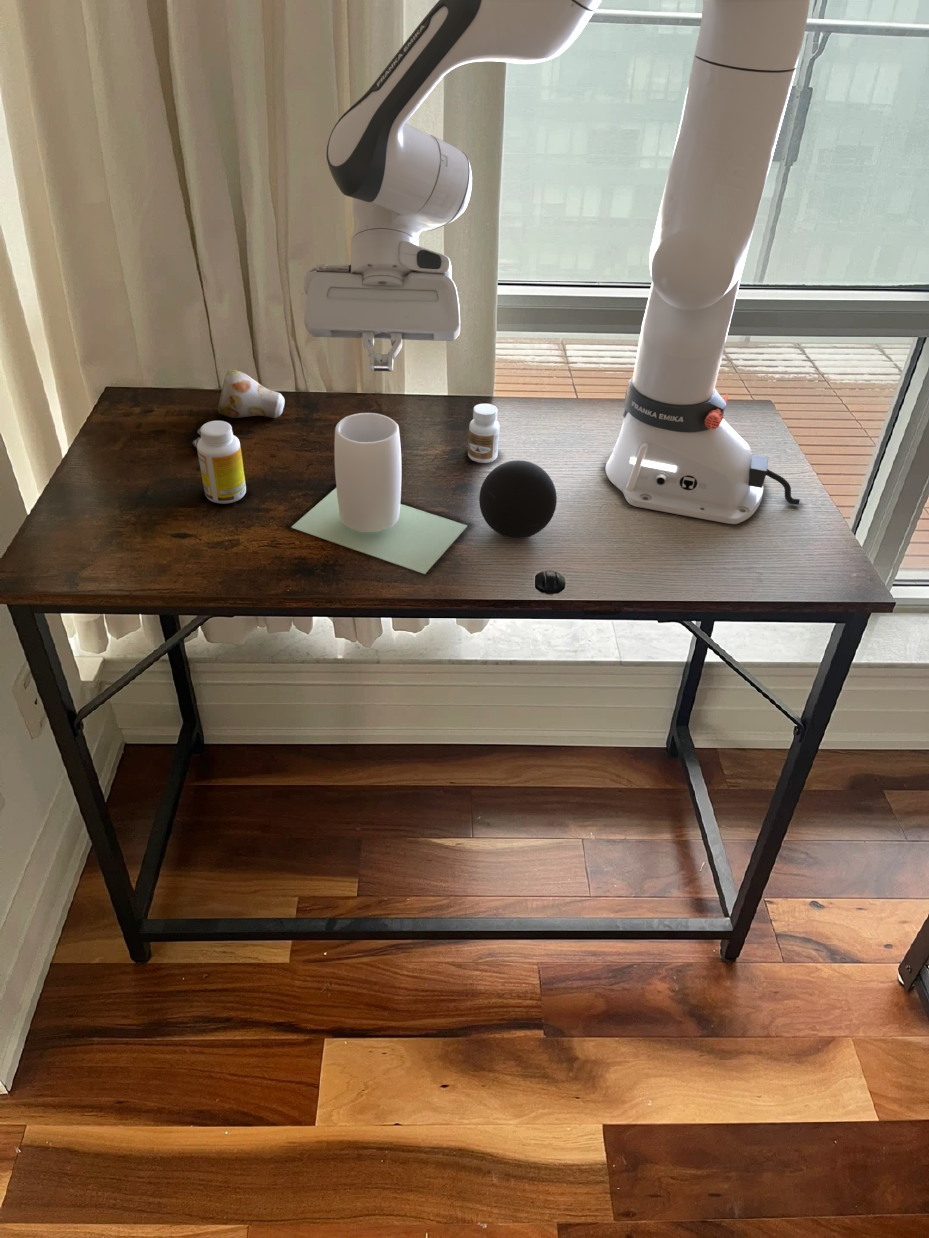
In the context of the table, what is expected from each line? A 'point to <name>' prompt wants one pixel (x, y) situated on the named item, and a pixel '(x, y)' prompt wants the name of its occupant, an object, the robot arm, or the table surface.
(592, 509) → the table surface
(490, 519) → the speaker
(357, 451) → the cup
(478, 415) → the pill bottle
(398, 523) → the mat
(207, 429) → the supplement bottle
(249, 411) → the white spotted container
